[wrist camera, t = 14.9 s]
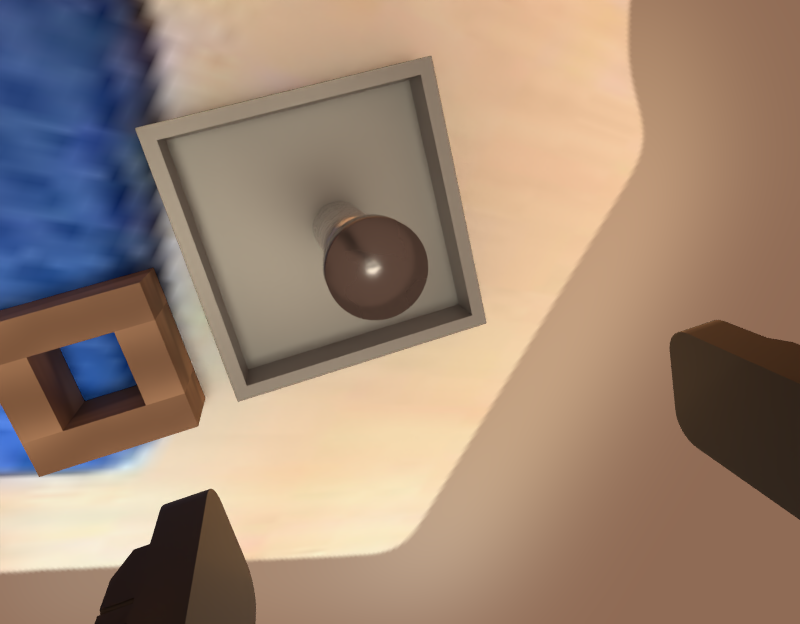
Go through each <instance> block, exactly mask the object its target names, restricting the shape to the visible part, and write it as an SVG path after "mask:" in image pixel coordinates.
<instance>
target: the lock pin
mask: <svg viewBox="0 0 800 624" xmlns="http://www.w3.org/2000/svg"><path fill="white" fill-rule="evenodd" d="M313 232H314V236H315V238H316V240H317V242H318V244H319V246H320V248H321V249H322V251H323V253H324V256H323V274H324V279H325V281H326V284H327V286H328V289H329V291H330V293H331V295H332V297H333V298H334V300H335V301H336V302H337V304H338V305H339V306H340V307H341V308H343V309H344V310H345V311H346V312H348V313H350V314H351V315H353V316H356V317H358V318H361V319H365V320H385V319H389V318H392V317H395V316H397V315H399V314H401V313H403V312H404V311H406V310H407V309H408V308H410V307H411V306H412V305H413V304H414V303H415V302H416V300H417V299H418V298H419V296H420V295H421V293H422V291H423V289H424V287H425V284H426V281H427V276H428V258H427V254H426V251H425V248H424V246H423V244H422V242H421V240H420V239H419V237H418V236H417V235H416V234H415V233H414V232H413V231H412V230H411V229H410V228H409V227H407V226H406V225H404V224H402V223H401V222H399V221H397V220H395V219H393V218H390V217H388V216H384V215H377V214H369V215H367V214H365V213H364V212H362V211H361V210H359V209H358V208H356V207H355V206H353V205H352V204H350V203H347V202H343V201H335V202H331V203H328V204H326V205H325V206H323V207H322V208H321V209H320V210H319V211H318V213H317V214H316V216H315V219H314V223H313Z"/></svg>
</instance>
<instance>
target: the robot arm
mask: <svg viewBox="0 0 800 624" xmlns="http://www.w3.org/2000/svg"><path fill="white" fill-rule="evenodd" d="M670 358H671V368H672V378H673V389H674V399H675V410H676V416H677V420H678V422H679V425H680V427H681V429H682V431H683V432H684V434H685V435H686V437H687V438H688V439H689V441H690V442H691V443H692V444H693V445H694V446H696V447H697V448H698V449H700V450H701V451H703V452H704V453H705V454H707V455H708V456H710V457H711V458H712V459H714V460H715V461H717V462H718V463H720V464H721V465H723V466H724V467H725V468H727V469H728V470H730V471H731V472H732V473H734V474H735V475H737V476H738V477H740V478H741V479H742V480H744V481H745V482H747V483H748V484H750V485H751V486H752V487H754V488H755V489H757V490H758V491H760V492H761V493H762V494H764V495H765V496H767V497H768V498H770V499H771V500H773V501H774V502H775V503H777V504H778V505H780V506H781V507H782V508H784V509H785V510H787V511H788V512H790V513H791V514H792V515H794V516H795V517H797V518H798V519H799V520H800V345H798V344H796V343H793V342H788V341H782V340H777V339H771V338H766V337H764V336H761V335H758V334H756V333H753V332H751V331H748V330H745V329H743V328H740V327H738V326H735V325H733V324H730V323H727V322H725V321H721V320H714V321H710V322H707V323H705V324H702V325H699V326H696V327H693V328H690V329H687V330H684V331H681V332H678V333H676V334H674V335H673V337H672V338H671V342H670ZM255 621H256V602H255V593H254V587H253V582H252V578H251V575H250V571H249V568H248V565H247V563H246V560H245V558H244V555H243V553H242V551H241V548H240V546H239V543H238V541H237V539H236V536H235V534H234V531H233V529H232V527H231V524H230V522H229V519H228V517H227V515H226V512H225V510H224V508H223V505H222V503H221V501H220V498H219V497H218V495H217V493H216V492H215V491H214V490H213V489H209V490H206V491H203V492H200V493H197V494H194V495H191V496H188V497H185V498H182V499H179V500H176V501H173V502H170V503H167V504H164V505H163V506H162V507H161V509H160V512H159V516H158V519H157V522H156V526H155V529H154V533H153V536H152V539H151V543H150V544H149V545H146V546H143V547H140V548H137V549H134V550H133V551H132V553H131V554H130V555H129V557H128V558H127V559H126V560H125V562H124V563H123V564H122V566H121V567H120V568H119V569H118V571H117V572H116V573H115V575H114V576H113V577H112V578H111V580H110V582H109V585H108V588H107V591H106V594H105V596H104V599H103V602H102V605H101V607H100V615H99V616H97V619H96V621H95V624H255Z"/></svg>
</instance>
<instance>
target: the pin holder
mask: <svg viewBox="0 0 800 624" xmlns="http://www.w3.org/2000/svg"><path fill="white" fill-rule="evenodd" d="M112 332H114V333H115V335H116V337H117V340H118V342H119V344H120V347H121V349H122V351H123V353H124V356H125V358H126V360H127V363H128V365H129V367H130V370H131V372H132V374H133V376H134V379H135V381H136V383H137V386H133V387H130V388H127V389H124V390H120V391H117V392H114V393H110V394H107V395H104V396H101V397H97V398H94V399H91V400H87V401H84V399H83V397H82V395H81V393H80V391H79V389H78V387H77V385H76V382H75V380H74V378H73V376H72V374H71V372H70V370H69V368H68V366H67V363H66V361H65V359H64V357H63V355H62V353H61V351H60V349H59V348H61V347H64V346H67V345H71V344H74V343H78V342H81V341H85V340H88V339H91V338H95V337H98V336H102V335H105V334H109V333H112ZM204 401H205V396H204V394H203V391H202V389H201V386H200V384H199V381H198V379H197V376H196V374H195V371H194V369H193V366H192V364H191V361H190V359H189V356H188V353H187V351H186V348H185V346H184V343H183V341H182V338H181V336H180V333H179V331H178V328H177V326H176V323H175V321H174V318H173V316H172V313H171V311H170V308H169V305H168V303H167V300H166V298H165V295H164V293H163V290H162V288H161V285H160V283H159V280H158V278H157V275H156V273H155V270H154V268H151V269H147V270H144V271H140V272H137V273H133V274H129V275H126V276H122V277H119V278H115V279H111V280H108V281H104V282H101V283H97V284H94V285H90V286H86V287H83V288H79V289H76V290H72V291H68V292H65V293H61V294H58V295H54V296H51V297H47V298H43V299H40V300H36V301H33V302H29V303H25V304H22V305H18V306H15V307H11V308H7V309H4V310H0V403H1V405H2V407H3V409H4V411H5V413H6V415H7V417H8V419H9V420H10V422H11V424H12V426H13V428H14V430H15V432H16V434H17V436H18V437H19V439H20V441H21V443H22V445H23V447H24V449H25V451H26V453H27V455H28V456H29V458H30V460H31V462H32V464H33V466H34V468H35V470H36V472H37V473H38V475H39V477H41V476H44V475H47V474H50V473H53V472H56V471H60V470H63V469H66V468H69V467H72V466H75V465H78V464H82V463H85V462H88V461H91V460H94V459H97V458H100V457H103V456H107V455H110V454H113V453H116V452H119V451H122V450H125V449H128V448H132V447H135V446H138V445H141V444H144V443H147V442H150V441H154V440H157V439H160V438H163V437H166V436H169V435H172V434H175V433H179V432H182V431H185V430H188V429H191V428H194V427H197V426H198V425H199V421H200V417H201V413H202V409H203V405H204Z"/></svg>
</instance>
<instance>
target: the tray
mask: <svg viewBox="0 0 800 624" xmlns="http://www.w3.org/2000/svg"><path fill="white" fill-rule="evenodd" d="M135 129H136V132H137V135H138V137H139V140H140V143H141V145H142V148H143V151H144V153H145V156H146V159H147V161H148V164H149V167H150V169H151V172H152V175H153V177H154V180H155V183H156V185H157V188H158V191H159V193H160V196H161V199H162V201H163V204H164V207H165V209H166V212H167V214H168V217H169V220H170V222H171V225H172V228H173V230H174V233H175V236H176V238H177V241H178V244H179V246H180V249H181V252H182V254H183V257H184V260H185V262H186V265H187V268H188V270H189V273H190V276H191V278H192V281H193V284H194V286H195V289H196V292H197V294H198V297H199V300H200V302H201V305H202V308H203V310H204V313H205V316H206V318H207V321H208V324H209V326H210V329H211V332H212V334H213V337H214V340H215V342H216V345H217V348H218V350H219V353H220V356H221V358H222V361H223V364H224V366H225V369H226V371H227V374H228V377H229V379H230V382H231V385H232V387H233V390H234V393H235V395H236V398H237V401H238V402H239V401H242V400H246V399H249V398H252V397H255V396H258V395H261V394H265V393H268V392H271V391H274V390H277V389H280V388H283V387H287V386H290V385H293V384H296V383H299V382H302V381H306V380H309V379H312V378H315V377H318V376H321V375H325V374H328V373H331V372H334V371H337V370H340V369H344V368H347V367H350V366H353V365H356V364H359V363H362V362H366V361H369V360H372V359H375V358H378V357H381V356H385V355H388V354H391V353H394V352H397V351H400V350H404V349H407V348H410V347H413V346H416V345H419V344H422V343H426V342H429V341H432V340H435V339H438V338H441V337H445V336H448V335H451V334H454V333H457V332H460V331H464V330H467V329H470V328H473V327H476V326H479V325H482V324H486V318H485V313H484V308H483V304H482V299H481V294H480V289H479V284H478V279H477V274H476V270H475V265H474V260H473V255H472V250H471V245H470V241H469V236H468V231H467V226H466V221H465V216H464V212H463V207H462V202H461V197H460V192H459V187H458V182H457V178H456V173H455V168H454V163H453V158H452V153H451V149H450V144H449V139H448V134H447V129H446V124H445V120H444V115H443V110H442V105H441V100H440V95H439V91H438V86H437V81H436V76H435V71H434V66H433V61H432V57H431V56H428V57H424V58H420V59H416V60H412V61H407V62H403V63H399V64H395V65H391V66H387V67H383V68H379V69H375V70H371V71H367V72H363V73H358V74H354V75H350V76H346V77H342V78H338V79H334V80H330V81H326V82H322V83H318V84H314V85H309V86H305V87H301V88H297V89H293V90H289V91H285V92H281V93H277V94H273V95H269V96H265V97H260V98H256V99H252V100H248V101H244V102H240V103H236V104H232V105H228V106H224V107H220V108H216V109H211V110H207V111H203V112H199V113H195V114H191V115H187V116H183V117H179V118H175V119H171V120H167V121H162V122H158V123H154V124H150V125H146V126H142V127H138V128H135ZM335 201H343V202H347V203H350V204H352V205H353V206H355V207H356V208H358V209H359V210H361V211H362V212H364V213H365V214H367V215H369V214H377V215H384V216H388V217H390V218H393V219H395V220H397V221H399V222H401V223H402V224H404V225H406V226H407V227H409V228H410V229H411V230H412V231H413V232H414V233H415V234H416V235H417V236H418V237H419V239H420V240H421V242H422V244H423V246H424V248H425V251H426V254H427V258H428V276H427V281H426V284H425V287H424V289H423V291H422V293H421V295H420V296H419V298H418V299H417V300H416V302H415V303H414V304H413V305H412V306H411V307H410V308H408V309H407V310H406V311H404V312H403V313H401V314H399V315H397V316H395V317H392V318H389V319H385V320H365V319H361V318H358V317H356V316H353V315H351V314H350V313H348V312H346V311H345V310H344V309H343V308H341V307H340V306H339V305H338V304H337V302H336V301H335V300H334V298H333V297H332V295H331V293H330V291H329V289H328V286H327V284H326V281H325V279H324V274H323V256H324V253H323V251H322V249H321V248H320V246H319V244H318V242H317V240H316V238H315V236H314V232H313V223H314V219H315V216H316V214H317V213H318V211H319V210H320V209H321V208H322V207H323V206H325V205H326V204H328V203H331V202H335Z"/></svg>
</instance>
